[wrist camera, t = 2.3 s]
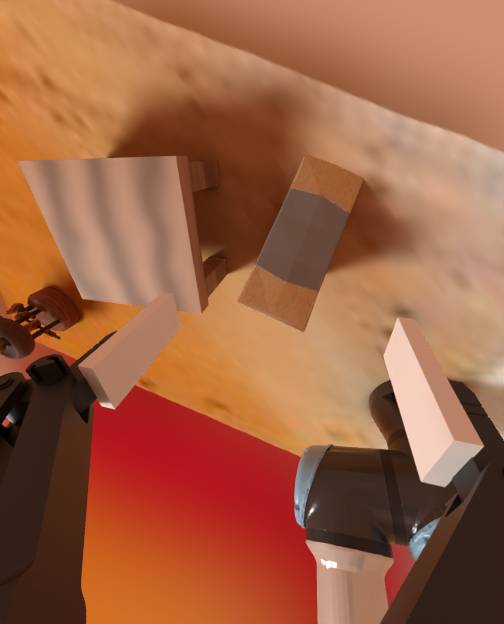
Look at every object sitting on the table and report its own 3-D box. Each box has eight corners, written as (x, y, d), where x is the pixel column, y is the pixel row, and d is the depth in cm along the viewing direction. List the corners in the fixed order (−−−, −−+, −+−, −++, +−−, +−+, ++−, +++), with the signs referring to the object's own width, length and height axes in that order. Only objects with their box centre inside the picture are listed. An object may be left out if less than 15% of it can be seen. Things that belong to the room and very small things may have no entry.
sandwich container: (367, 178, 30) (396, 192, 18) (310, 278, 39) (304, 334, 27) (304, 151, 30) (291, 147, 18) (262, 257, 39) (234, 304, 27)
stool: (219, 156, 33) (175, 155, 23) (229, 277, 42) (201, 313, 33) (98, 160, 37) (17, 161, 27) (132, 269, 47) (82, 298, 37)
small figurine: (40, 313, 62) (-65, 363, 45) (33, 276, 56) (-89, 317, 39) (93, 336, 62) (7, 396, 44) (92, 301, 56) (-6, 354, 39)
